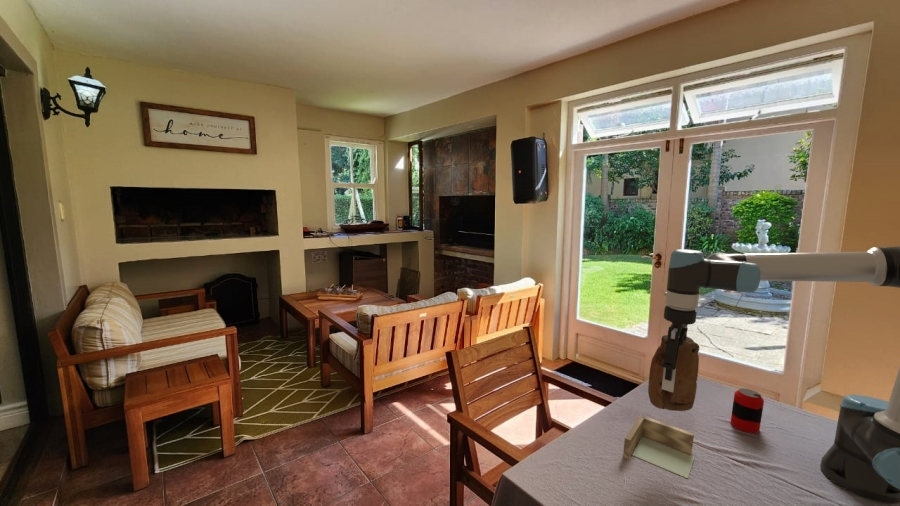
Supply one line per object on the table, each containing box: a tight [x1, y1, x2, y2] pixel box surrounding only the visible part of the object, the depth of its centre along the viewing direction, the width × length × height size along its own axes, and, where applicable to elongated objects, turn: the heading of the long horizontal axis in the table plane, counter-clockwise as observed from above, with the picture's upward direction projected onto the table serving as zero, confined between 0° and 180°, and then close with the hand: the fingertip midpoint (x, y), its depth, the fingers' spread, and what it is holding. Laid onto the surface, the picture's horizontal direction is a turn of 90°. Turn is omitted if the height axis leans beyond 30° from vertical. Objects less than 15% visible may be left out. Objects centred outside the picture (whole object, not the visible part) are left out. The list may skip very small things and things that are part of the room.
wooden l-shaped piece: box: [622, 415, 695, 460], centre depth 111 cm, size 15×16×6 cm
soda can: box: [730, 387, 765, 434], centre depth 125 cm, size 8×8×12 cm
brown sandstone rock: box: [648, 334, 700, 412], centre depth 107 cm, size 11×8×20 cm
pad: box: [631, 436, 695, 479], centre depth 111 cm, size 14×11×1 cm
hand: (672, 382), depth 107 cm, fingers closed on brown sandstone rock, 11 cm apart
